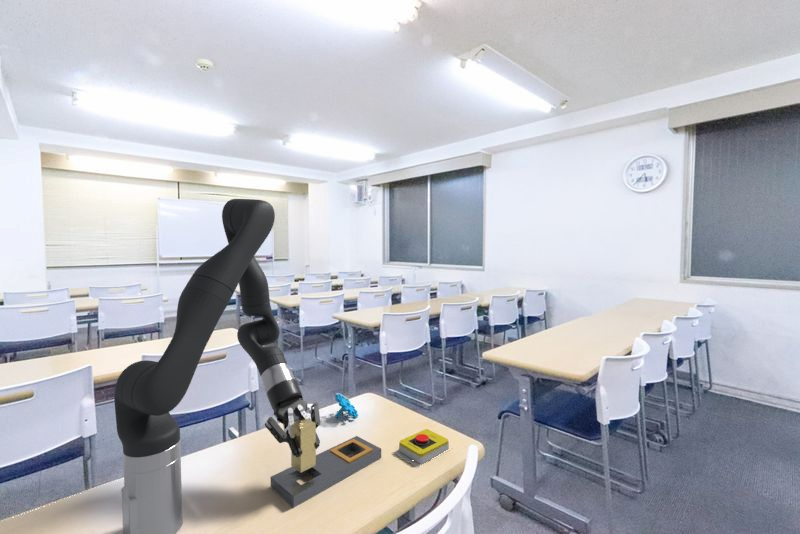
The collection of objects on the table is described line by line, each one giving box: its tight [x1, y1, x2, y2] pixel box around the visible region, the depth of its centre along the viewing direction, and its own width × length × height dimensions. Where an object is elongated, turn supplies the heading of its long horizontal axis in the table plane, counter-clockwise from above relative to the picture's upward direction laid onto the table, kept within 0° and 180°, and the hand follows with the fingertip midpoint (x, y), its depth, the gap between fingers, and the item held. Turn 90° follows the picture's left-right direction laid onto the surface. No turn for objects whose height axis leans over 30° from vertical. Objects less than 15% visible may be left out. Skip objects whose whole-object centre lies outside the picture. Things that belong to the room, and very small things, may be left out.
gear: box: [334, 393, 359, 419], centre depth 123 cm, size 11×6×10 cm
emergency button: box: [394, 428, 450, 467], centre depth 102 cm, size 9×4×15 cm
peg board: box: [270, 435, 382, 508], centre depth 92 cm, size 26×10×3 cm, turn 137°
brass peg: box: [290, 419, 317, 473], centre depth 86 cm, size 4×4×10 cm
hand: (308, 451), depth 85 cm, fingers closed on brass peg, 4 cm apart
